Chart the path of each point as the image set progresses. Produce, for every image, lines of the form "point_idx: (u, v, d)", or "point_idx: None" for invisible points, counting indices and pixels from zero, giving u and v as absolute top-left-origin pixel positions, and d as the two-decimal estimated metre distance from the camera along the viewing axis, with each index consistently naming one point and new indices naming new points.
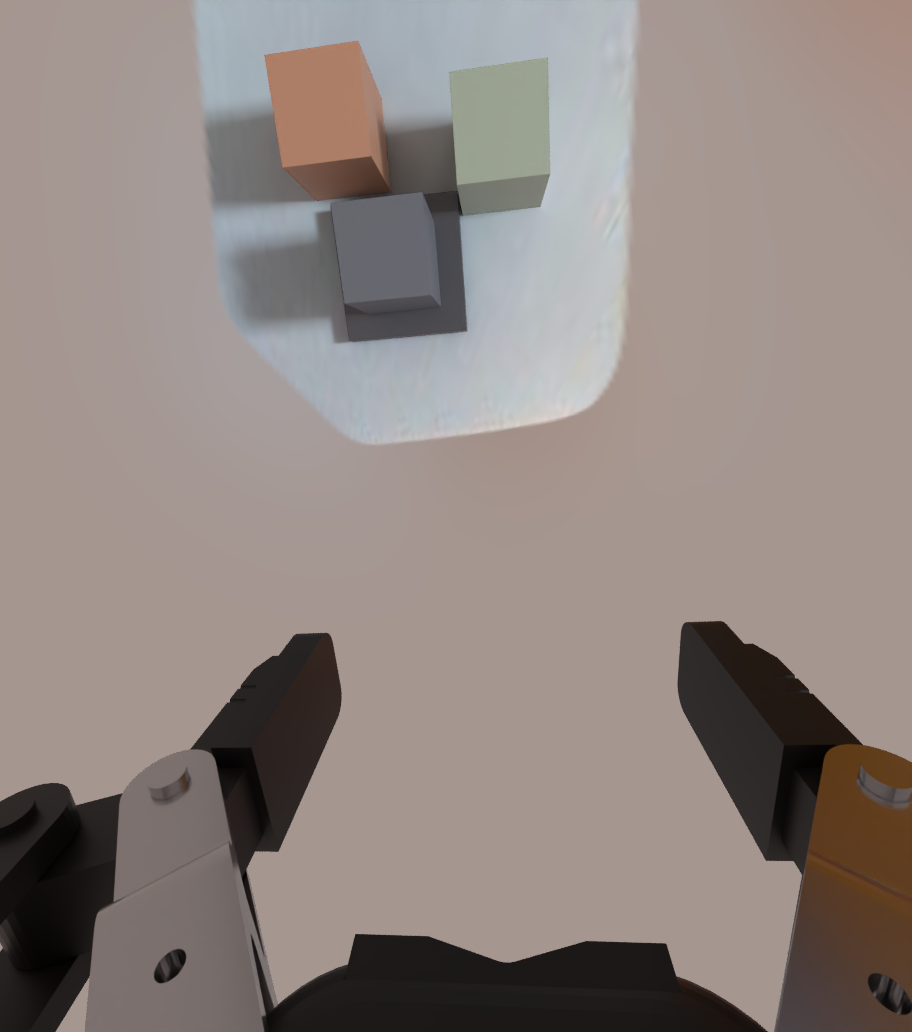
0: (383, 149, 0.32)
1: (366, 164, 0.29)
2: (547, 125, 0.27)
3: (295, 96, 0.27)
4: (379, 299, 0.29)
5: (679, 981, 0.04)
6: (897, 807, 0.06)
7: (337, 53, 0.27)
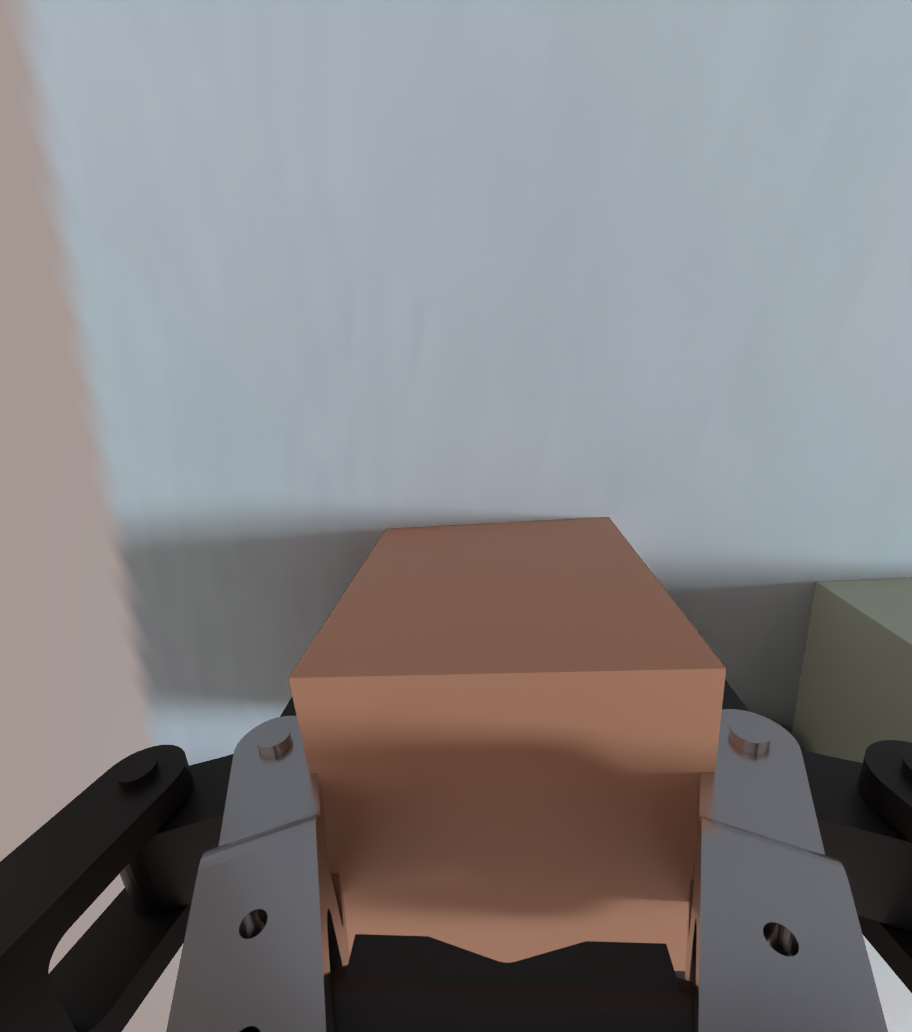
0: None
1: None
2: None
3: (415, 802, 0.07)
4: None
5: (679, 981, 0.04)
6: (753, 759, 0.06)
7: (618, 699, 0.06)
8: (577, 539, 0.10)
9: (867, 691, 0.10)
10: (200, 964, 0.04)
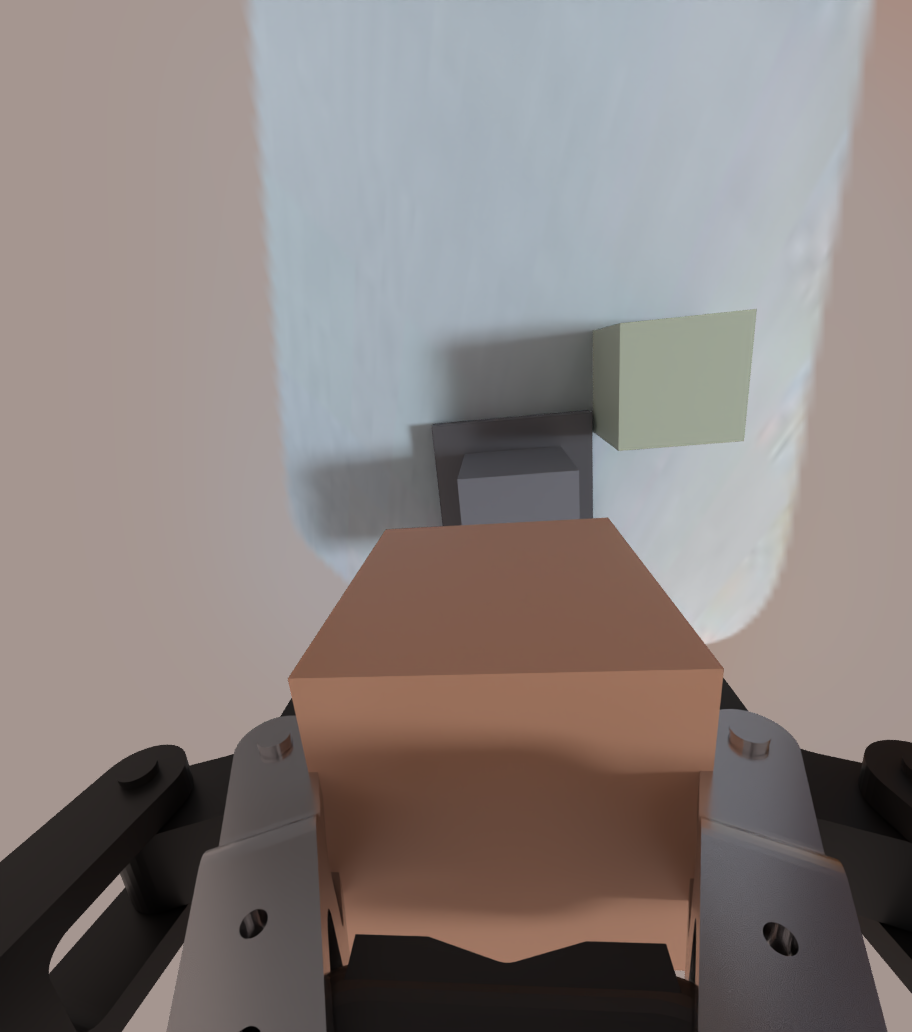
0: None
1: None
2: (746, 386, 0.20)
3: (414, 801, 0.07)
4: None
5: (679, 981, 0.04)
6: (752, 759, 0.06)
7: (616, 699, 0.06)
8: (575, 540, 0.10)
9: (600, 361, 0.24)
10: (200, 964, 0.04)
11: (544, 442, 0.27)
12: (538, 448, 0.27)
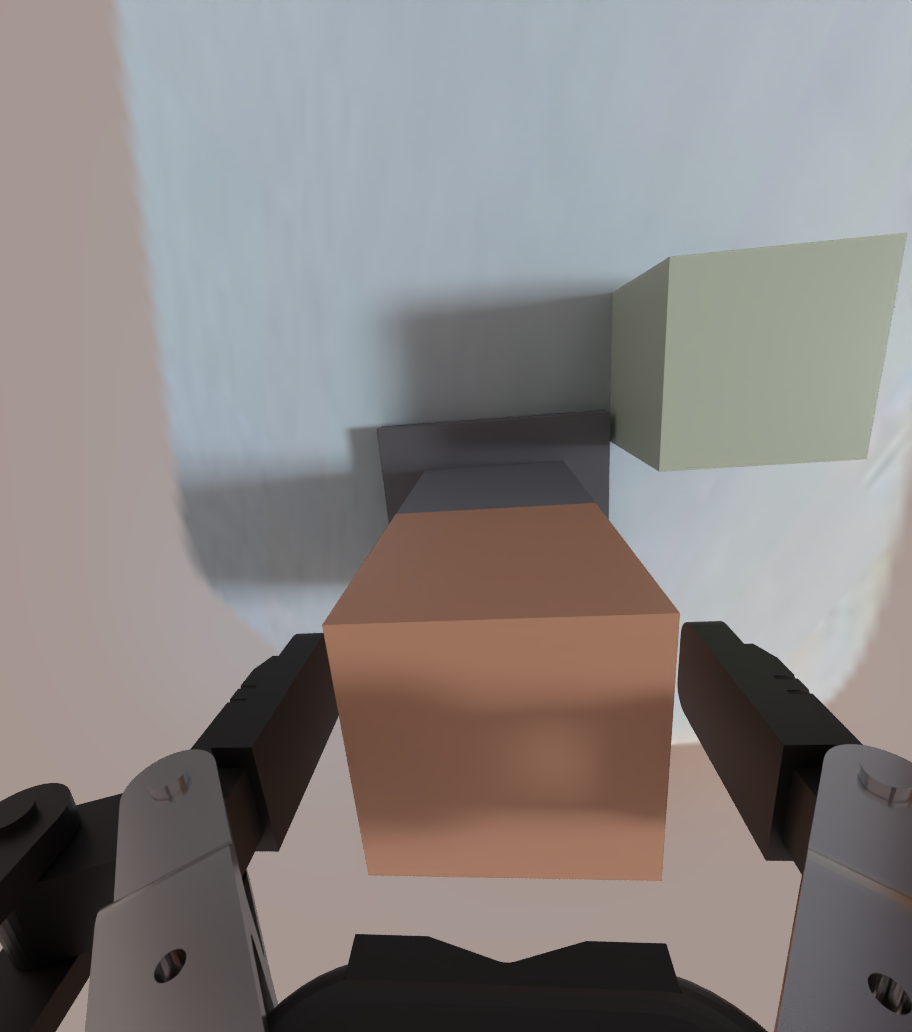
0: None
1: None
2: (877, 368, 0.12)
3: (426, 731, 0.08)
4: None
5: (679, 981, 0.04)
6: (897, 807, 0.06)
7: (592, 640, 0.07)
8: (566, 521, 0.11)
9: (625, 335, 0.16)
10: (111, 1024, 0.04)
11: (540, 456, 0.18)
12: (531, 464, 0.18)
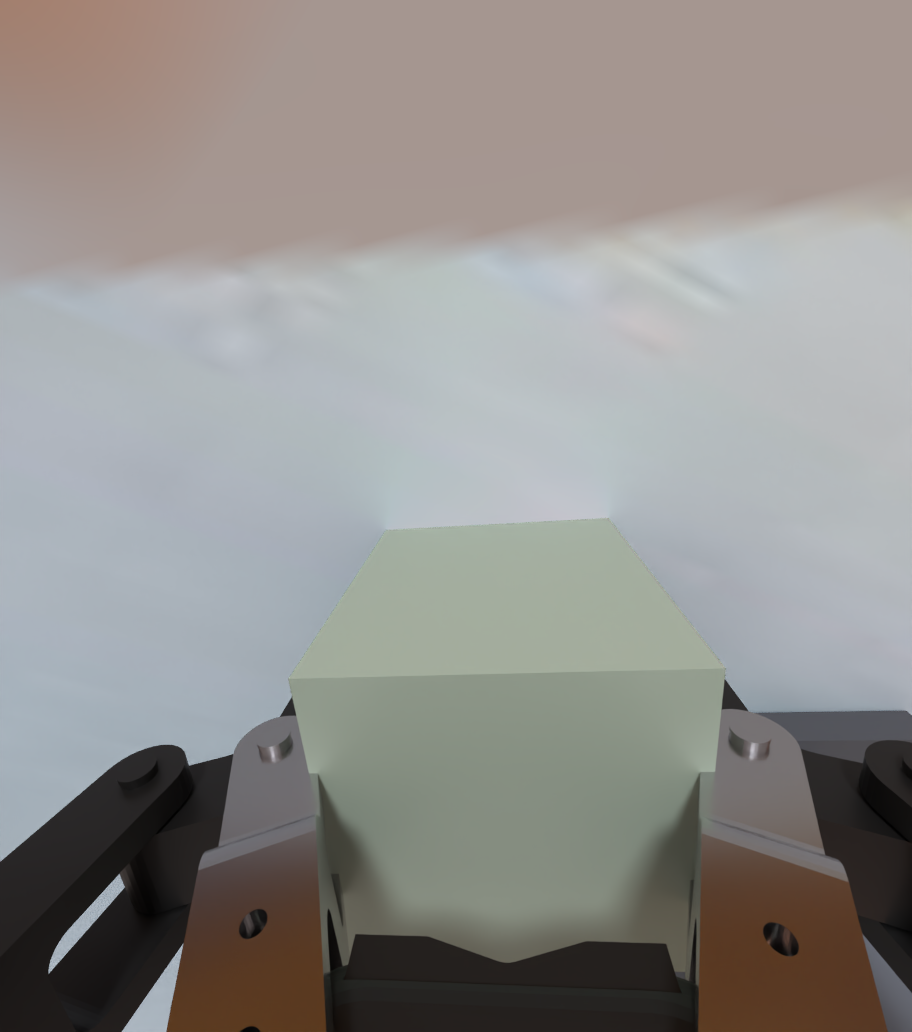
0: None
1: None
2: (526, 678, 0.06)
3: None
4: None
5: (679, 981, 0.04)
6: (753, 759, 0.06)
7: None
8: None
9: None
10: (200, 964, 0.04)
11: None
12: None
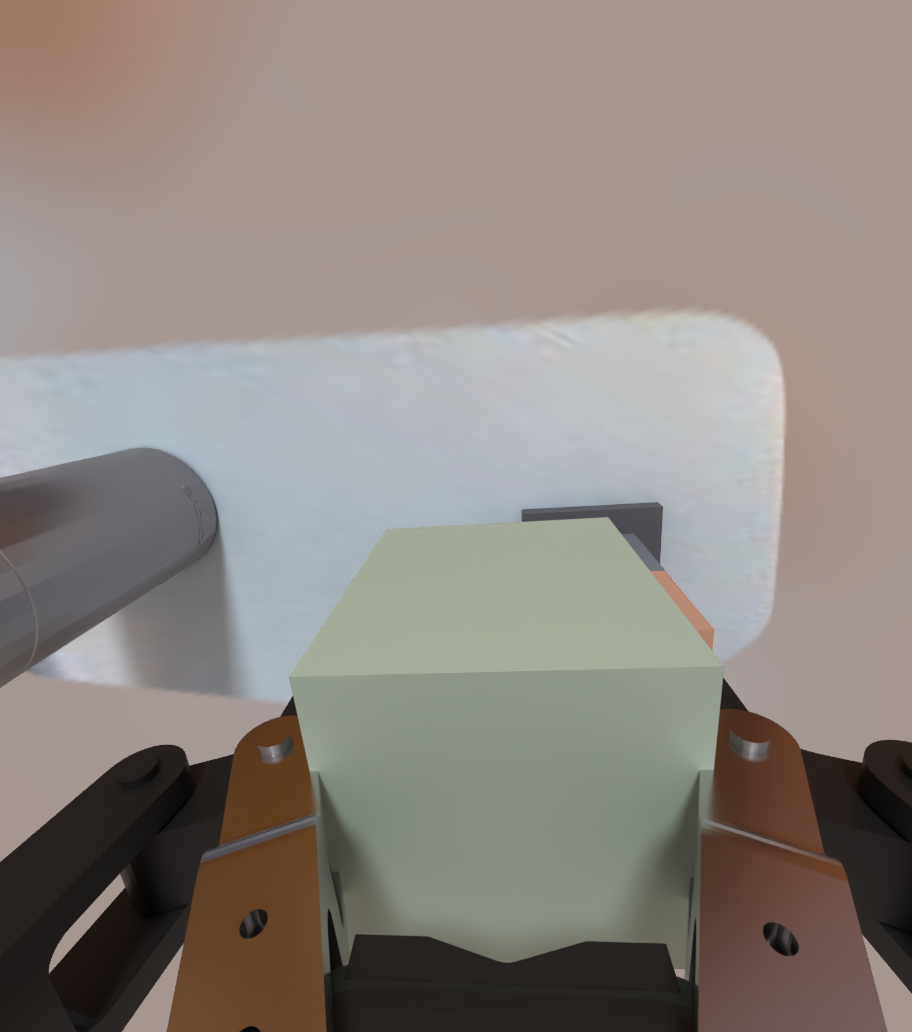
0: None
1: None
2: (526, 675, 0.06)
3: None
4: None
5: (679, 981, 0.04)
6: (752, 759, 0.06)
7: None
8: None
9: None
10: (200, 963, 0.04)
11: None
12: None
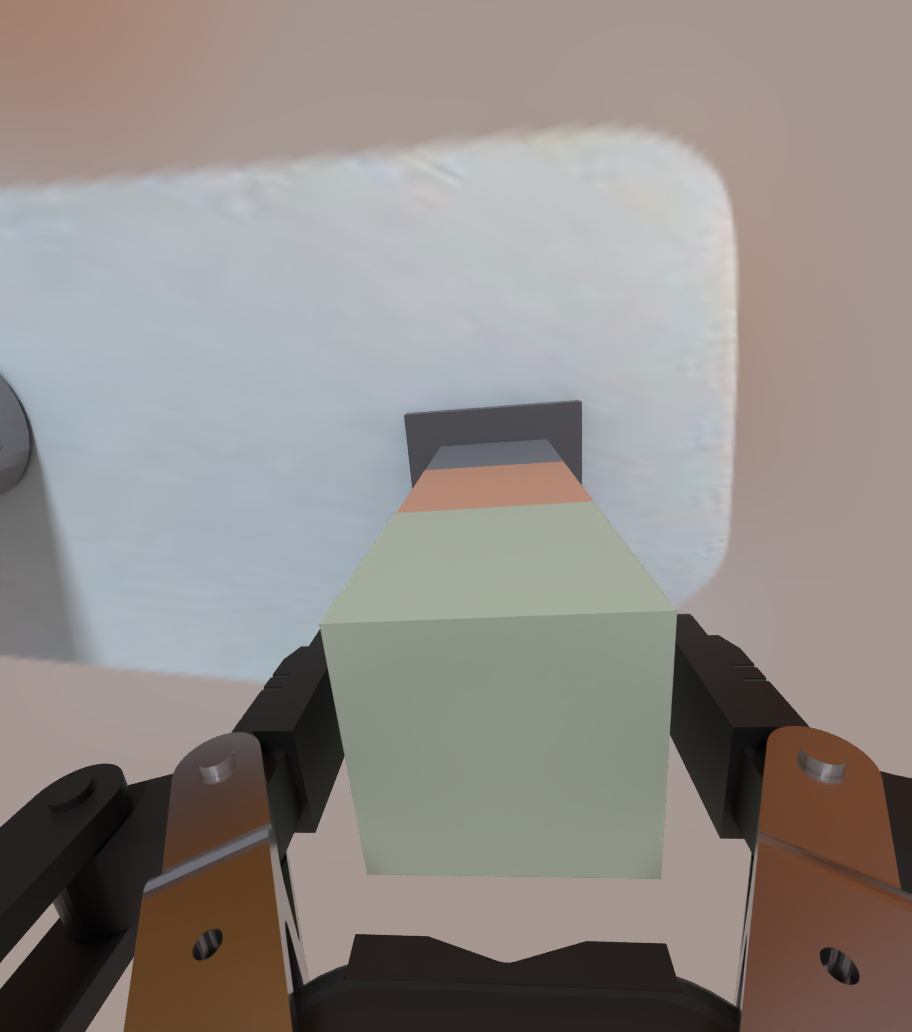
0: (512, 472, 0.17)
1: None
2: (515, 620, 0.07)
3: None
4: None
5: (679, 981, 0.04)
6: (830, 782, 0.06)
7: None
8: None
9: None
10: (151, 994, 0.04)
11: None
12: None
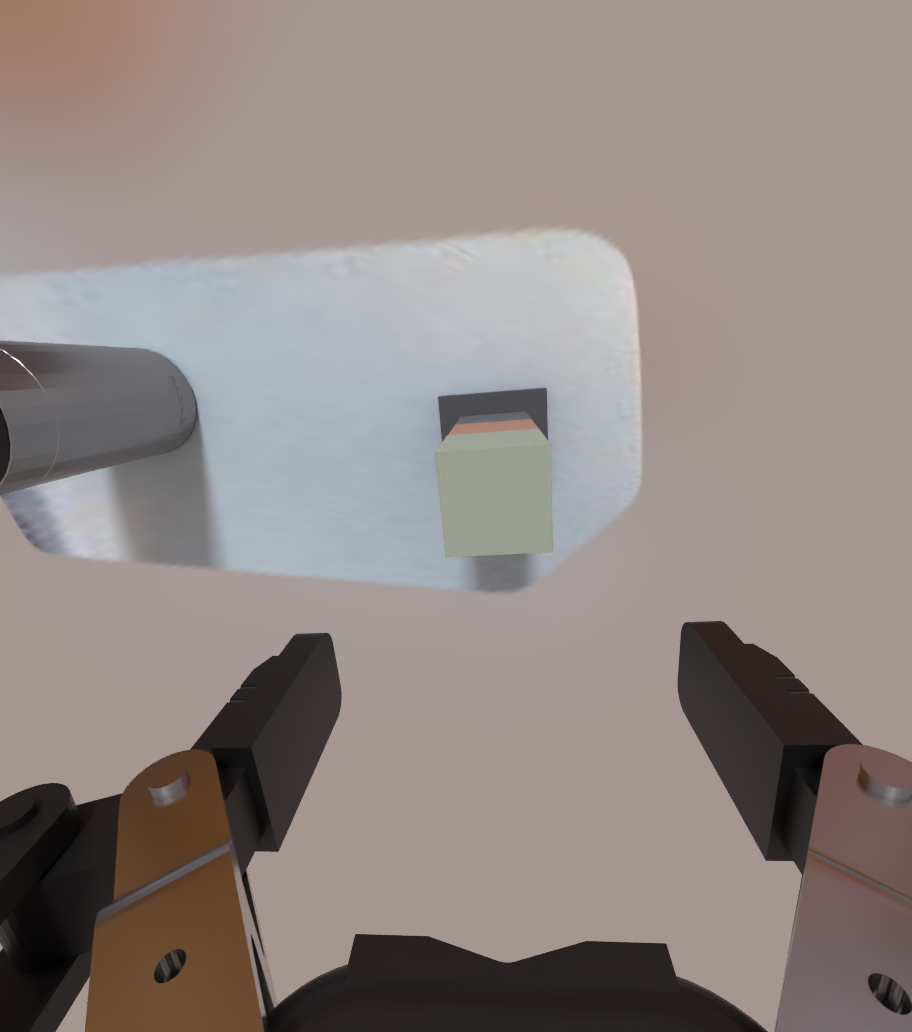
0: (503, 423, 0.32)
1: None
2: (500, 449, 0.22)
3: None
4: None
5: (679, 981, 0.04)
6: (897, 807, 0.06)
7: None
8: None
9: None
10: (111, 1024, 0.04)
11: None
12: None
